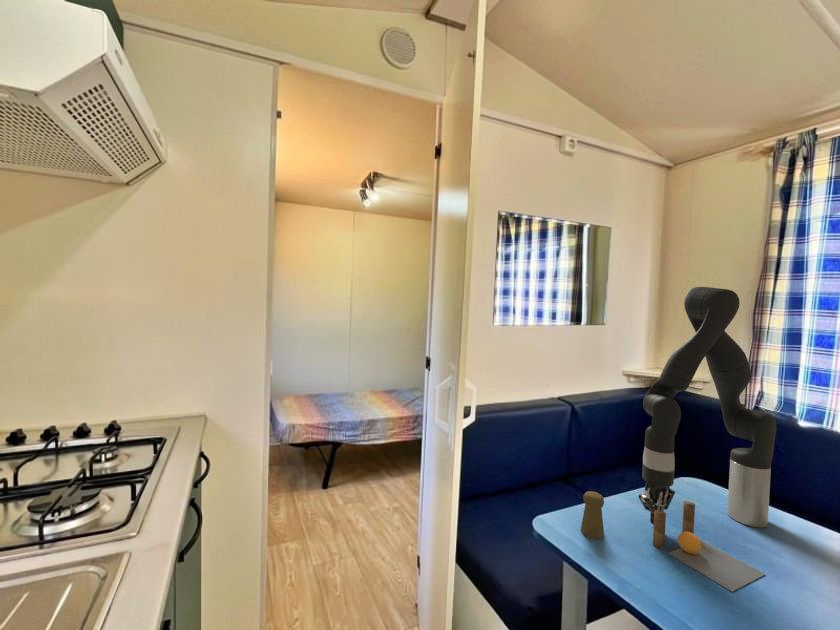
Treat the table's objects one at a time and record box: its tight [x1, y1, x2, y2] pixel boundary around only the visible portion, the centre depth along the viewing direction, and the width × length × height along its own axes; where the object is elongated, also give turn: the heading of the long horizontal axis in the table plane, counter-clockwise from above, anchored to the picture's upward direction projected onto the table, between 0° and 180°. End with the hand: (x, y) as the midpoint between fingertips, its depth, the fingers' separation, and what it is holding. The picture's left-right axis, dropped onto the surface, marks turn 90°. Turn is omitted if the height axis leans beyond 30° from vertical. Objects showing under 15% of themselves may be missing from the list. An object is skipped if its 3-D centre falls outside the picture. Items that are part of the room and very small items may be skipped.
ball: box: [677, 531, 702, 554], centre depth 97 cm, size 5×5×5 cm
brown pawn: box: [580, 490, 605, 540], centre depth 104 cm, size 6×6×11 cm
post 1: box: [652, 510, 667, 550], centre depth 99 cm, size 3×3×9 cm
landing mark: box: [668, 539, 766, 593], centre depth 93 cm, size 14×14×1 cm
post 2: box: [681, 500, 696, 534], centre depth 105 cm, size 3×3×9 cm
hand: (655, 524), depth 107 cm, fingers closed
